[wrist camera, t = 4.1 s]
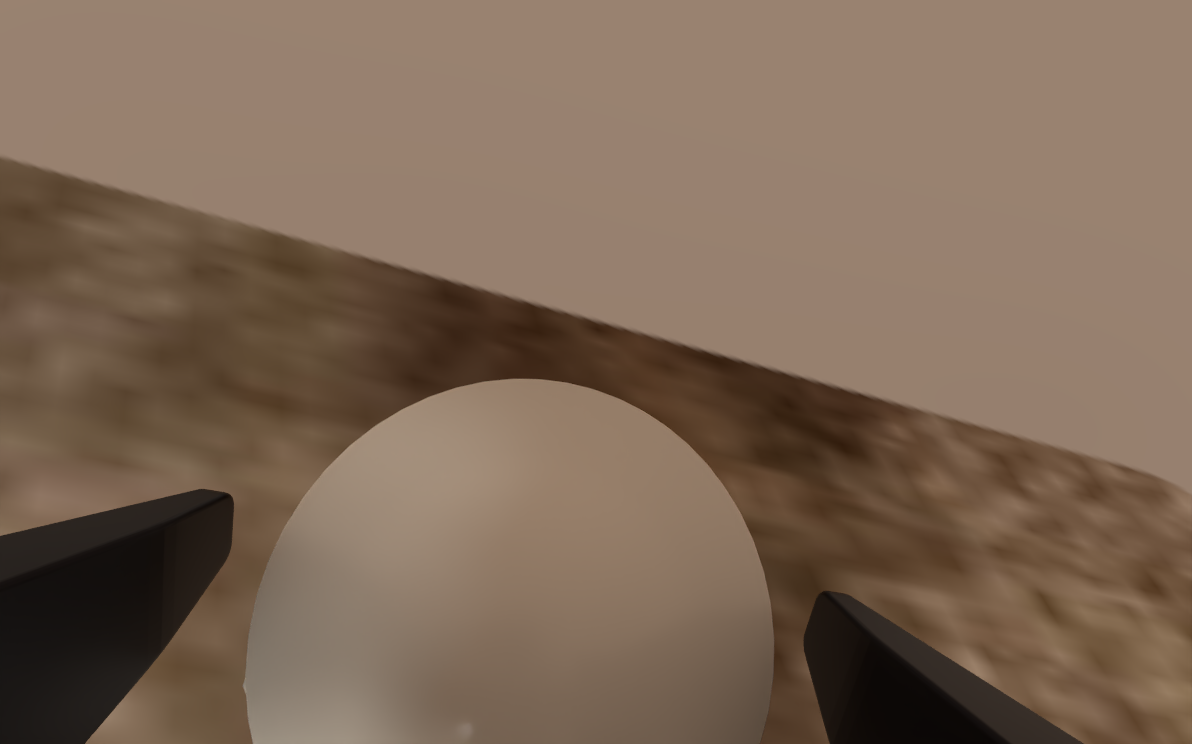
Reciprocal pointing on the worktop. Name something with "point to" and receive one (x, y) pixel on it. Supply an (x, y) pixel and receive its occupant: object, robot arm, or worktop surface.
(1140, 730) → the worktop surface
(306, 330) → the worktop surface
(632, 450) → the tumbler
